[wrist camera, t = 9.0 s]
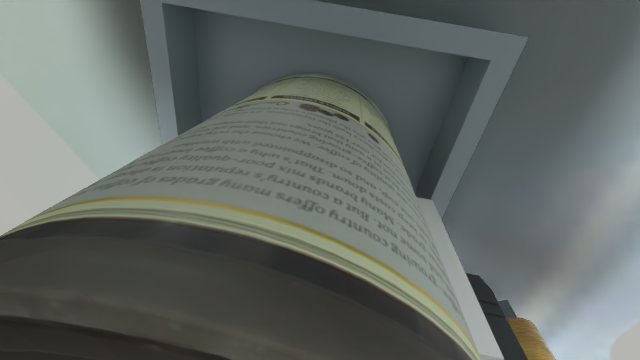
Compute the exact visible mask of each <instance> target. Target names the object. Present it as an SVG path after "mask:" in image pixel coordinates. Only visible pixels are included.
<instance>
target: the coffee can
mask: <svg viewBox="0 0 640 360" xmlns="http://www.w3.org/2000/svg"><path fill="white" fill-rule="evenodd" d="M0 360H481V358H480V356H479V353H478V351H477V348H476V346H475V343H474V341H473V338H472V336H471V333H470V331H469V328H468V326H467V323H466V321H465V318H464V316H463V313H462V310H461V308H460V305H459V303H458V300H457V298H456V295H455V293H454V290H453V288H452V285H451V283H450V280H449V278H448V275H447V273H446V270H445V268H444V265H443V263H442V260H441V258H440V255H439V253H438V250H437V248H436V245H435V243H434V240H433V238H432V235H431V233H430V230H429V228H428V225H427V223H426V220H425V218H424V215H423V213H422V210H421V208H420V205H419V203H418V200H417V198H416V195H415V193H414V190H413V188H412V185H411V182H410V180H409V177H408V175H407V173H406V170H405V168H404V165H403V163H402V160H401V158H400V155H399V153H398V150H397V148H396V145H395V143H394V138H393V134H392V131H391V129H390V126H389V124H388V122H387V120H386V118H385V116H384V114H383V113H382V112H381V110H380V109H379V107H378V106H377V105H376V104H375V103H374V102H373V101H372V100H371V99H370V98H369V97H368V96H367V95H366V94H365V93H364V92H362V91H361V90H360V89H358V88H357V87H355V86H354V85H352V84H350V83H348V82H346V81H343V80H340V79H338V78H335V77H332V76H327V75H321V74H315V73H314V74H296V75H290V76H287V77H282V78H279V79H276V80H275V81H273V82H271V83H269V84H267V85H265V86H263V87H262V88H261V89H259V90H258V91H257V92H255V93H254V94H253V95H251V96H249V97H247V98H246V99H244V100H242V101H240V102H238V103H237V104H235V105H233V106H231V107H230V108H228V109H226V110H224V111H222V112H220V113H218V114H216V115H214V116H213V117H211V118H210V119H208V120H206V121H204V122H202V123H201V124H199V125H197V126H195V127H193V128H192V129H190V130H188V131H186V132H185V133H183V134H181V135H179V136H177V137H176V138H174V139H172V140H170V141H169V142H167V143H165V144H163V145H161V146H160V147H158V148H156V149H154V150H152V151H150V152H148V153H147V154H145V155H143V156H141V157H139V158H138V159H136V160H134V161H133V162H131V163H129V164H127V165H126V166H124V167H122V168H120V169H119V170H117V171H115V172H113V173H112V174H110V175H108V176H106V177H104V178H103V179H101V180H99V181H97V182H95V183H94V184H92V185H90V186H88V187H87V188H85V189H83V190H81V191H79V192H78V193H76V194H74V195H72V196H70V197H68V198H67V199H65V200H63V201H61V202H59V203H58V204H56V205H54V206H52V207H50V208H49V209H47V210H45V211H43V212H42V213H40V214H38V215H36V216H34V217H33V218H31V219H29V220H27V221H26V222H24V223H22V224H20V225H19V226H17V227H15V228H13V229H12V230H10V231H8V232H6V233H5V234H3V235H1V236H0Z"/></svg>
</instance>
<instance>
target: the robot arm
mask: <svg viewBox="0 0 640 360" xmlns="http://www.w3.org/2000/svg"><path fill="white" fill-rule="evenodd" d="M416 198H417V200H418V203H419V205H420V208H421V210H422V213H423V215H424V218H425V220H426V223H427V225H428V228H429V230H430V233H431V235H432V238H433V240H434V243H435V245H436V248H437V250H438V253H439V255H440V258H441V260H442V263H443V265H444V268H445V270H446V273H447V275H448V278H449V280H450V283H451V285H452V288H453V290H454V293H455V295H456V298H457V300H458V303H459V305H460V308H461V310H462V313H463V316H464V318H465V321H466V323H467V326H468V328H469V331H470V333H471V336H472V338H473V341H474V343H475V346H476V348H477V351H478V353H479V356H480V358H481V360H528V359H527V357H526V355H525V353H524V351H523V349H522V347H521V345H520V343H519V341H518V339H517V338H516V336H515V334H514V332H513V330H512V328H511V326H510V324H509V322H508V320H506V319H505V315H504V313H503V311H502V309H501V307H499V303H498V301H497V299H496V298H495V296H494V294H493V292H492V290H491V289H490V288H489V286H488V285H487V284H486V283H485V282H484V281H483V280H482V279H481V278H480V277H479V276H477V275H473V274H468V273H465V271H464V269H463V267H462V264H461V262H460V260H459V258H458V256H457V253H456V251H455V249H454V247H453V244H452V242H451V240H450V238H449V236H448V233H447V231H446V229H445V227H444V224H443V222H442V220H441V218H440V216H439V213H438V211H437V209H436V207H435V205H434V202H433V200H429V199H424V198H419V197H416Z"/></svg>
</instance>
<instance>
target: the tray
mask: <svg viewBox="0 0 640 360" xmlns="http://www.w3.org/2000/svg"><path fill="white" fill-rule="evenodd" d="M140 6H141V12H142V19H143V25H144V32H145V38H146V44H147V51H148V57H149V64H150V70H151V77H152V83H153V89H154V96H155V102H156V109H157V115H158V122H159V128H160V135H161V141H162V145H163V144H165V143H167V142H169V141H170V140H172V139H174V138H176V137H177V136H179V135H181V134H183V133H185V132H186V131H188V130H190V129H192V128H193V127H195V126H197V125H199V124H201V123H202V122H204V121H206V120H208V119H210V118H211V117H213V116H214V115H216V114H218V113H220V112H222V111H224V110H226V109H228V108H230V107H231V106H233V105H235V104H237V103H238V102H240V101H242V100H244V99H246V98H247V97H249V96H251V95H253V94H254V93H255V92H257V91H258V90H259V89H261V88H262V87H263V86H265V85H267V84H269V83H271V82H273V81H275V80H276V79H279V78H282V77H287V76H290V75H296V74H314V73H315V74H321V75H327V76H332V77H335V78H338V79H340V80H343V81H346V82H348V83H350V84H352V85H354V86H355V87H357V88H358V89H360V90H361V91H362V92H364V93H365V94H366V95H367V96H368V97H369V98H370V99H371V100H372V101H373V102H374V103H375V104H376V105H377V106H378V107H379V109H380V110H381V112H382V113H383V114H384V116H385V118H386V120H387V122H388V124H389V126H390V129H391V131H392V134H393V138H394V143H395V145H396V148H397V150H398V153H399V155H400V158H401V160H402V163H403V165H404V168H405V170H406V173H407V175H408V177H409V180H410V182H411V185H412V188H413V190H414V193H415V195H416V197H419V198H424V199H429V200H433V202H434V205H435V207H436V209H437V211H438V213H439V216H440V218H441V219H442V217H443V215H444V213H445V211H446V209H447V207H448V205H449V203H450V201H451V198H452V196H453V194H454V192H455V190H456V188H457V186H458V184H459V182H460V180H461V178H462V176H463V173H464V171H465V169H466V167H467V165H468V163H469V161H470V159H471V157H472V155H473V153H474V151H475V149H476V146H477V144H478V142H479V140H480V138H481V136H482V134H483V132H484V130H485V128H486V126H487V124H488V121H489V119H490V117H491V115H492V113H493V111H494V109H495V107H496V105H497V103H498V101H499V99H500V97H501V94H502V92H503V90H504V88H505V86H506V84H507V82H508V80H509V78H510V76H511V74H512V72H513V69H514V67H515V65H516V63H517V61H518V59H519V57H520V55H521V53H522V51H523V49H524V47H525V45H526V42H527V40H528V38H529V37H525V36H519V35H513V34H507V33H502V32H496V31H490V30H484V29H478V28H473V27H467V26H461V25H455V24H449V23H443V22H438V21H432V20H426V19H420V18H414V17H408V16H403V15H397V14H391V13H385V12H379V11H374V10H368V9H362V8H356V7H350V6H344V5H339V4H333V3H327V2H321V1H315V0H140Z"/></svg>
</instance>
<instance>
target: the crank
mask: <svg viewBox="0 0 640 360" xmlns="http://www.w3.org/2000/svg"><path fill="white" fill-rule="evenodd" d="M498 303H499V307H501V309H502V311H503V313H504V315H505V319H506V320H508V322H509V324H510V326H511V328H512V330H513V332H514V334H515V336H516V338H517V339H518V341H519V343H520V345H521V347H522V349H523V351H524V353H525V355H526V357H527V359H528V360H556V359H555V358H554V356H553V354H552V353H551V351H550V349H549V348H548V346H547V345H546V343H545V341H544V340H543V338H542V336H541V335H540V333H539V331H538V330H537V328H536V327H535V325H534V324H533V323H532V322H531V321H529V320H526V319H523V318H517V316H516V315H515V313H514V311H513V309H512V308H511V306H510V304H509V302H508V300H506V301H498Z"/></svg>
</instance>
